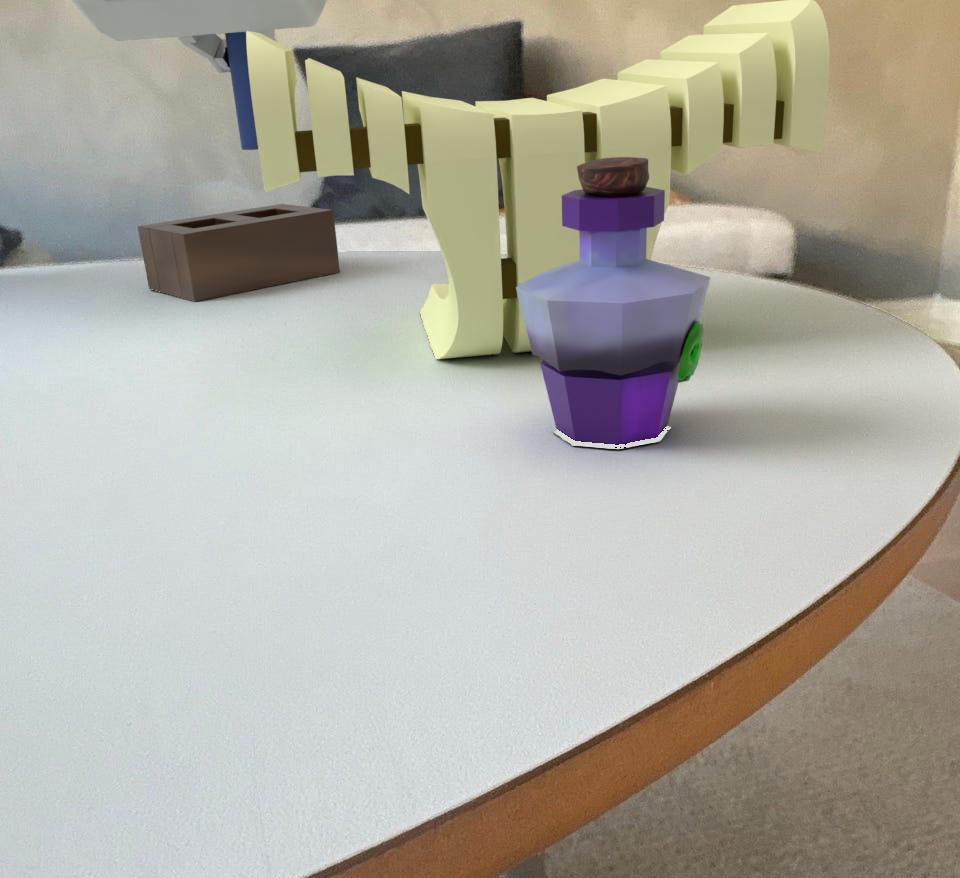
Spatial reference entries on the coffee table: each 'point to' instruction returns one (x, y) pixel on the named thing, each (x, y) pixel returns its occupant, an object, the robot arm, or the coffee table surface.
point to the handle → (242, 89)
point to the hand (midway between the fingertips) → (252, 64)
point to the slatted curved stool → (545, 148)
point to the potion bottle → (614, 312)
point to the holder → (239, 250)
